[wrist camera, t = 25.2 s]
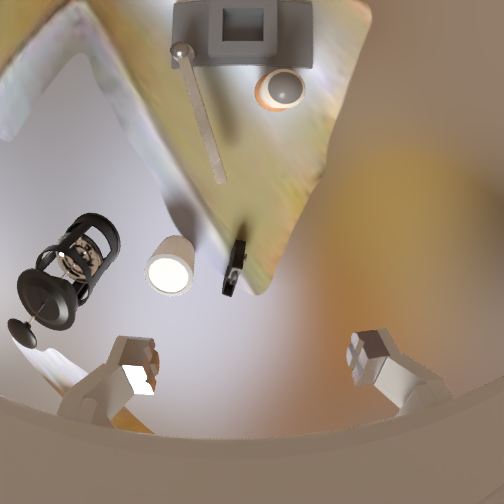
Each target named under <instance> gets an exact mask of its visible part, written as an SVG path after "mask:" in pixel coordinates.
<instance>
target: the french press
mask: <svg viewBox="0 0 504 504" xmlns="http://www.w3.org/2000/svg"><path fill="white" fill-rule="evenodd" d="M91 226H94V227H95V228H97V229H98V230H99V231H101V232H102V233H103V235H104V236H105V237H106V239H107V241H108V243H109V245H110V249H111V251H110V253H109V254H108V255H107V257H106V258H103V256H102V253H101V251H100V249H99V248H98V246H97V245H96V243H95V242H94V241H93V240H92V239H91V238H89V237H88V236H87V235H85V234H84V233H85V232H86V231H87V230H88V229H89V228H90V227H91ZM48 251H50V252H49V253H48V254H47V255H46V256H45V257H44V258H43V259H42V256H43V254H44V253H45V252H48ZM119 252H120V237H119V234H118V232H117V230H116V228H115V226H114V225H113V224H112V223H111V222H110V221H109V220H108V219H107V218H105V217H104V216H102V215H99V214H96V213H86V214H83V215H81V216H80V217H78V218H77V219H76V220H75V222H74V223H73V224H72V225H71V226H70V227H69V228H68V229H67V231H66V233H65V234H64V235H63V236H61V238H60V239H59V240H58V242H57V245H52V246H49V247H48V248H46V249H45V250H44V251H43V252H42V253H41V254H40V255H39V257H38V258H37V261H36V269H33V268H31V269H27V270H25V271H24V272H22V274H21V275H20V276H19V278H18V281H17V290H18V294H19V297H20V300H21V302H22V304H23V305H24V307H25V309H26V310H27V311H28V313H29V314H30V315H31V316H32V317H31V319H30V320H29V321H28V322H25V323H22V322H21V321H19V320H17V319H9V321H8V329H9V331H10V333H11V334H12V336H13V337H14V338H15V340H16V341H17V342H19V343H20V344H21V345H23V346H25V347H27V348H30V349H33V348H35V347H36V345H37V340H36V338H35V336H34V334H33V333H32V331H31V330H30V328H31V325H30V324H31V323H32V321H33V319H35V320H36V321H38V322H39V323H40V324H42V325H43V326H45V327H47V328H50V329H53V330H59V331H62V330H66V329H68V328H70V327H71V326H72V324H73V323H74V320H75V312H76V311H77V308H78V307H79V306H81V305H83V304H84V303H85V302H86V301H87V299H88V298H89V296H90V295H91V293H92V290H93V288H94V286H95V285H96V283H97V282H98V280H99V278H100V277H101V275H102V274H103V272H104V271H105V270H106V269H107V268H108V267H109V265H110V264H111V263H112V262H113V261H114V260H115V259H116V257H117V256H118V254H119ZM55 257H57V260H58V263H59V265H60V267H61V268H62V270H63V271H64V272H65V274H64V275H63V276H62V278H59V277H54V276H50V275H49V274H47V273H46V272H44V271H43V270H44V269H45V268H46V267H47V266H48V265H49V264H50V263H51V262H52V261H53V260H54V259H55ZM66 275H68V276H69V277H70V278H72V279H73V280H75V282H74V283H73V284H71V283H70V282H69V281H68V280H65V279H64V278H65V277H66ZM87 290H88V296H87V297H86V298H85V299H83V300H81V299H82V298H83V296H84V295H85V293H86V291H87Z"/></svg>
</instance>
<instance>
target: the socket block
mask: <svg viewBox="0 0 504 504" xmlns="http://www.w3.org/2000/svg"><path fill="white" fill-rule="evenodd" d="M178 41H183V42H185V43H186V44H187V45H188V47H189V53H188V55H189V58H190V61H191V64H192V67H204V66H229V65H255V66H281V67H295V68H306V69H311V68H312V55H313V41H312V4H306V3H298V2H289V1H277V0H205V1H193V2H183V3H175V4H174V9H173V29H172V45H173V44H174V43H176V42H178ZM179 68H180V65H179V62H178V59H177V58H176V57H174V56H173V55H172V69H179Z"/></svg>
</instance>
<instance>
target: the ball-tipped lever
mask: <svg viewBox="0 0 504 504" xmlns="http://www.w3.org/2000/svg"><path fill="white" fill-rule="evenodd" d="M170 52H171V54H172V55H173V56H174V57H176V58H177V59H178V62H179V65H180V69H181V72H182V75H183V78H184V81H185V85H186V88H187V91H188V94H189V97H190V101H191V104H192V107H193V110H194V113H195V116H196V120H197V123H198V126H199V129H200V132H201V135H202V138H203V142H204V145H205V148H206V151H207V154H208V157H209V160H210V163H211V166H212V169H213V173H214V176H215V179H216V182H217V184H220V183H223V182H227V176H226V173H225V170H224V167H223V164H222V160H221V157H220V154H219V151H218V148H217V144H216V141H215V138H214V135H213V132H212V128H211V125H210V122H209V119H208V116H207V112H206V109H205V106H204V103H203V100H202V96H201V93H200V90H199V87H198V84H197V80H196V77H195V74H194V71H193V67H192V64H191V61H190V58H189V55H188V53H189V47H188V45H187V44H186V43H185V42H183V41H178V42H176V43H174V44H173V45H172V46H171V49H170Z"/></svg>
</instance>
